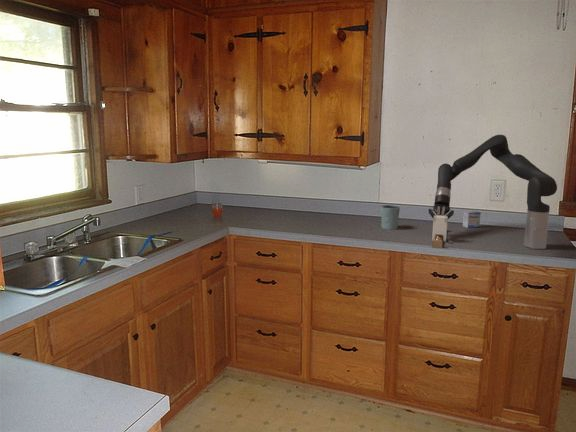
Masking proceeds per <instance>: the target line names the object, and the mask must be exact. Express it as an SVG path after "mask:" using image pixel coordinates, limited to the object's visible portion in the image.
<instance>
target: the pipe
mask: <svg viewBox="0 0 576 432" xmlns="http://www.w3.org/2000/svg"><path fill="white" fill-rule="evenodd" d="M431 242H432V243H431V247H432V248H438V249H443V242H444V241H443V235H439V234H436V236H435V240H432V239H431ZM453 242H454V241H453V240H448V244H454V243H453Z"/></svg>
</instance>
